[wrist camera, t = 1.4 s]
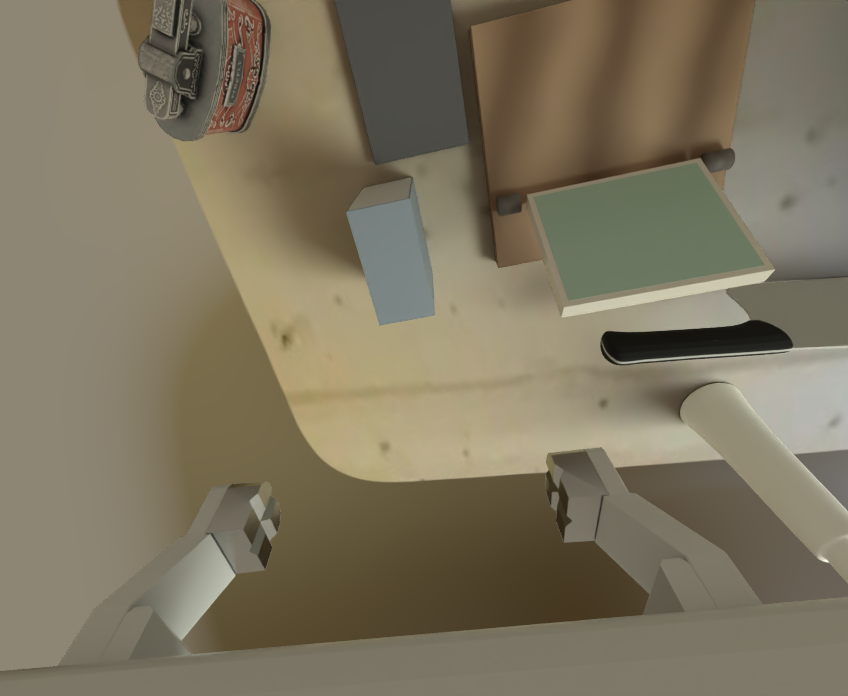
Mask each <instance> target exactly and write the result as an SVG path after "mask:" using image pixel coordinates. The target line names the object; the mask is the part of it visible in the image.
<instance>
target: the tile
mask: <svg viewBox="0 0 848 696" xmlns="http://www.w3.org/2000/svg"><path fill="white" fill-rule="evenodd" d="M526 209H527V212H528V215H529V218H530V221H531V224H532V227H533V231H534V234H535V237H536V240H537V243H538V246H539V249H540V252H541V256H542V259H543V262H544V265H545V268H546V271H547V274H548V277H549V281H550V284H551V287H552V290H553V293H554V296H555V299H556V302H557V306H558V309H559V312H560V315H561V318H563V317H569V316H575V315H580V314H586V313H592V312H597V311H603V310H608V309H614V308H620V307H625V306H631V305H637V304H642V303H648V302H654V301H659V300H665V299H670V298H676V297H682V296H687V295H693V294H699V293H704V292H710V291H716V290H721V289H727V288H733V287H738V286H744V285H749V284H755V283H761V282H764V281H765V280H766V279H767V278H768V277H769V276H770V275H771V274H772V273H773V272H774V270H775V268H774V266H773V265H772V263H771V262H770V260H769V259H768V257H767V256H766V255H765V253H764V252H763V250H762V249H761V247H760V246H759V244H758V243H757V241H756V240H755V238H754V237H753V235H752V234H751V232H750V231H749V229H748V228H747V226H746V225H745V223H744V222H743V221H742V219H741V218H740V216H739V215H738V213H737V212H736V210H735V209H734V207H733V206H732V204H731V203H730V201H729V200H728V198H727V197H726V195H725V194H724V192H723V191H722V189H721V188H720V187H719V185H718V184H717V182H716V181H715V179H714V178H713V176H712V175H711V173H710V172H709V170H708V169H707V167H706V166H705V164H704V163H703V161H702V160H701V158H698V159H693V160H689V161H684V162H679V163H674V164H670V165H665V166H660V167H655V168H651V169H646V170H641V171H636V172H632V173H627V174H622V175H618V176H613V177H608V178H603V179H599V180H594V181H589V182H584V183H580V184H575V185H570V186H565V187H561V188H556V189H551V190H546V191H542V192H537V193H532V194H527V200H526Z"/></svg>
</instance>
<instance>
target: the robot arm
mask: <svg viewBox="0 0 848 696" xmlns="http://www.w3.org/2000/svg"><path fill="white" fill-rule="evenodd" d="M546 463H547V466H548V469H549V471H548V472H547V473H546V474H545V475H546V476H545V484H546V492H547V496H548V499H549V503H550V506H551V507H552V508H553V509H554V510H555V511H557V514H556V522H557V525H558V528H559V530H560V533H561V536H562V539H563V542H579V541H593V540H594V541H595V542H596V543H597V544H598V545H599V546H600V547H601V548H602V549H603V550H604V551H605V552H606V553H607V554H608V555H609V556H610V557H611V558H612V559H613V560H614V561H616V562H617V563H618V564H619V565H620V566H621V567H622V568H623V569H624V570H625V571H626V572H627V573H628V574H629V575H630V576H631V577H632V578H633V579H634V580H636V581H637V582H638V583H639V584H640V585H641V586H642V587H643V588H644V589H645V590H646V591H647V592H648V593H649V594H650V596H649V599H648V602H647V605H646V608H645V611H644V614H643V615H640V616H629V617H617V618H606V619H594V620H583V621H571V622H559V623H548V624H536V625H525V626H513V627H502V628H491V629H479V630H467V631H456V632H444V633H433V634H421V635H410V636H398V637H387V638H375V639H364V640H353V641H341V642H331V643H319V644H308V645H297V646H284V647H273V648H261V649H250V650H239V651H227V652H215V653H205V654H192V652H191V651H190V650H189V649H188V648H187V647H186V645H185V644H184V643H183V642H182V641H181V640H182V639H183V638H184V637H185V636H186V634H187V633H188V632H189V631H190V629H191V628H192V627H193V626H194V625H195V623H196V622H197V621H198V620H199V619H200V618H201V616H202V615H203V614H204V613H205V612H206V610H207V609H208V608H209V607H210V606H211V604H212V603H213V602H214V601H215V600H216V598H217V597H218V596H219V595H220V593H221V592H222V591H223V590H224V589H225V588H226V586H227V585H228V584H229V583H230V582H231V580H232V579H233V578H234V577H235V574H238V573H246V572H254V571H261V570H265V569H266V566H267V563H268V560H269V557H270V553H271V551H272V546H271V544H270V542H269V541H270V540H271V539H272V538H273V537H274V536H275V535H276V534H277V531H278V528H279V525H280V514H281V513H280V507H279V504H278V501H277V500H276V499H275V498H273V497H271V496H270V495H271V492H272V488H271V486H270V484H269V482H255V483H240V484H230V485H217V486H214V487H213V488H212V489H211V490H210V492H209V494H208V496H207V497H206V499H205V501H204V503H203V505H202V507H201V509H200V510H199V512H198V514H197V516H196V518H195V520H194V522H193V524H192V525H191V527H190V529H189V531H188V533H187V535H186V536H182V537H180V538H179V539H177V540H176V541H175V542H174V543H173V544H171V545H170V546H169V547H168V548H166V549H165V550H164V551H163V552H162V553H161V554H159V555H158V556H157V557H156V558H154V559H153V560H152V561H151V562H150V563H148V564H147V565H146V566H145V567H144V568H143V569H141V570H140V571H139V572H138V573H137V574H135V575H134V576H133V577H132V578H131V579H129V580H128V581H127V582H126V583H125V584H123V585H122V586H121V587H120V588H119V589H117V590H116V591H115V592H114V593H113V594H111V595H110V596H109V597H108V598H107V599H105V600H104V601H103V602H102V603H101V604H99V605H98V606H97V607H96V608H95V609H94V610H93V611H92V613H91V614H90V616H89V618H88V619H87V621H86V622H85V624H84V625H83V627H82V629H81V630H80V632H79V633H78V635H77V636H76V638H75V640H74V641H73V643H72V644H71V646H70V647H69V649H68V651H67V652H66V654H65V655H64V657H63V658H62V660H61V661H60V663H59V665H58V666H53V667H42V668H30V669H18V670H7V671H0V696H848V597H846V598H834V599H823V600H812V601H801V602H789V603H777V604H766V605H763V604H762V603H761V602H760V600H759V599H758V597H757V596H756V595H755V593H754V592H753V590H752V589H751V588H750V586H749V585H748V583H747V582H746V581H745V579H744V578H743V576H742V575H741V574H740V572H739V571H738V569H737V568H736V566H735V565H734V564H733V562H732V561H731V560H730V558H729V557H728V555H727V554H726V552H724V551H723V550H721V549H720V548H718V547H716V546H715V545H713V544H712V543H710V542H709V541H707V540H706V539H704V538H703V537H701V536H699V535H698V534H696V533H695V532H694V531H692V530H690V529H689V528H688V527H686V526H684V525H683V524H681V523H680V522H678V521H677V520H675V519H674V518H672V517H671V516H669V515H668V514H666V513H665V512H663V511H661V510H660V509H659V508H657V507H655V506H654V505H652V504H651V503H649V502H648V501H646V500H645V499H643V498H642V497H640V496H639V495H637V494H636V493H629V492H628V490H627V488H626V486H625V485H624V483H623V481H622V480H621V478H620V476H619V474H618V473H617V471H616V469H615V468H614V466H613V464H612V462H611V461H610V459H609V457H608V456H607V454H606V452H605V450H604V449H602V448H592V449H583V450H582V449H581V450H572V451H563V452H554V453H548V455H547V459H546Z"/></svg>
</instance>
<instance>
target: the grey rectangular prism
mask: <svg viewBox="0 0 848 696" xmlns="http://www.w3.org/2000/svg"><path fill="white" fill-rule="evenodd" d="M346 214H347V218H348V221H349V224H350V228H351V231H352V234H353V238H354V241H355V244H356V248H357V251H358V254H359V258H360V261H361V265H362V268H363V271H364V275H365V278H366V281H367V285H368V288H369V291H370V295H371V298H372V301H373V305H374V308H375V311H376V315H377V318H378V321H379V325H385V324H390V323H396V322H401V321H407V320H412V319H417V318H423V317H428V316H434V315H435V308H434V289H433V273H432V268H431V263H430V258H429V253H428V248H427V243H426V239H425V234H424V229H423V224H422V219H421V214H420V209H419V204H418V200H417V195H416V190H415V185H414V180H413V177H410V178H405V179H401V180H396V181H392V182H387V183H383V184H378V185H374V186H369V187H365V188H363V189H362V190H361V192H360V193H359V194H358V196H357V197H356V199H355V200H354V201H353V203H352V204H351V206H350V207H349V208H348V210H347V211H346Z"/></svg>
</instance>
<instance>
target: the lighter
mask: <svg viewBox="0 0 848 696" xmlns="http://www.w3.org/2000/svg"><path fill="white" fill-rule="evenodd" d="M270 35H271V25H270V19H269V17H268V14H267V12H266V11H265V10H264V8H263V7H262V6H261V5H260V4H259V3H258V2H256V1H255V0H153V7H152V18H151V29H150V35H149V36H147V38H146V40H145V41H144V42H142V44H141V46H140V49H139V57H138V62H139V66H140V68H141V70H142V71H143V74H144V76H145V77H146V84H145V95H144V106H145V109H146V111H147V112H148V113H149V114H151V115H153V116H154V117H155V119H156V121H157V123H158V124H159V126H160V127H161V128H162V129H163V130H164V131H165V132H166V133H167V134H169V135H170V136H172V137H173V138H175V139H178V140H182V141H193V140H198V139H200V138H202V137H204V135H209V134H215V133H222V132H228V133H242V132H244V131H246V130H247V129H248V128H249V127H250V125H251V122H252V120H253V118H254V115H255V113H256V111H257V109H258V106H259V103H260V100H261V96H262V93H263V90H264V86H265V83H266V76H267V70H268V63H269V56H270Z"/></svg>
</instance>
